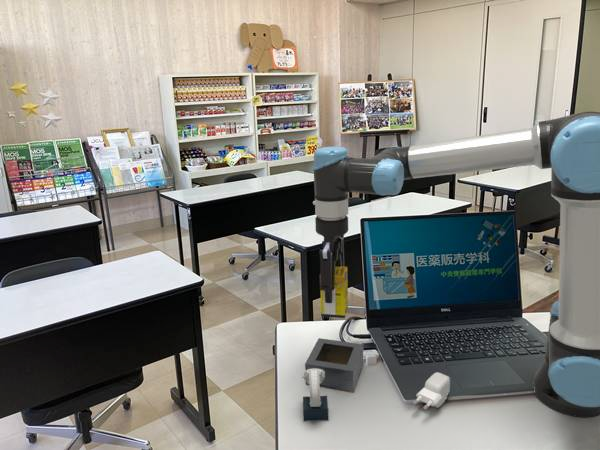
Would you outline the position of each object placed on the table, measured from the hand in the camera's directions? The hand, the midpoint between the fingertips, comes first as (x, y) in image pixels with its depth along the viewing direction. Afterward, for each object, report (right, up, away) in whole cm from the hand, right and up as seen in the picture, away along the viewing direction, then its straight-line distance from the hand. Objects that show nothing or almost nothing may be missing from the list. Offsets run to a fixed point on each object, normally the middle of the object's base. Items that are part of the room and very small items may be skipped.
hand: (333, 306), depth 115 cm
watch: (-5, -23, -8) cm, 25 cm away
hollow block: (+1, -18, +6) cm, 19 cm away
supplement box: (0, -2, 0) cm, 2 cm away
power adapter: (+22, -22, -7) cm, 31 cm away
